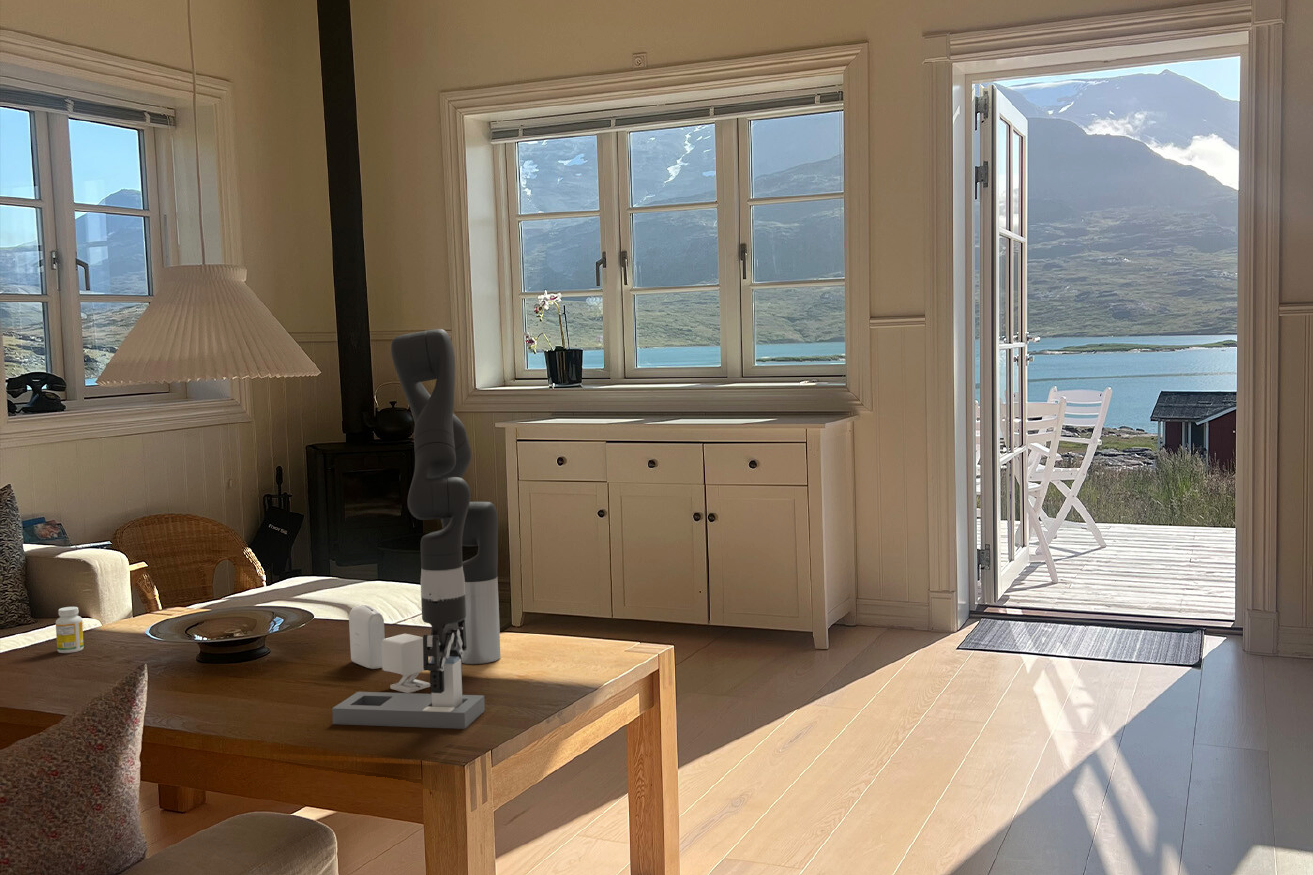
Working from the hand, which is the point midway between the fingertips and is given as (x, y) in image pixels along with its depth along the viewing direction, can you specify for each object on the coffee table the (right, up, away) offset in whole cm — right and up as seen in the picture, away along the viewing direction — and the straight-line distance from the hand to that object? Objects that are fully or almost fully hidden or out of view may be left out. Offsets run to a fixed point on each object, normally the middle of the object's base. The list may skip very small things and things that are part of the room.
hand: (446, 685), depth 199 cm
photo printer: (-24, -5, +40) cm, 47 cm away
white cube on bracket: (-11, -6, +21) cm, 24 cm away
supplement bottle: (-96, -5, +59) cm, 113 cm away
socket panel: (-7, -7, +2) cm, 10 cm away
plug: (0, -6, 0) cm, 6 cm away
